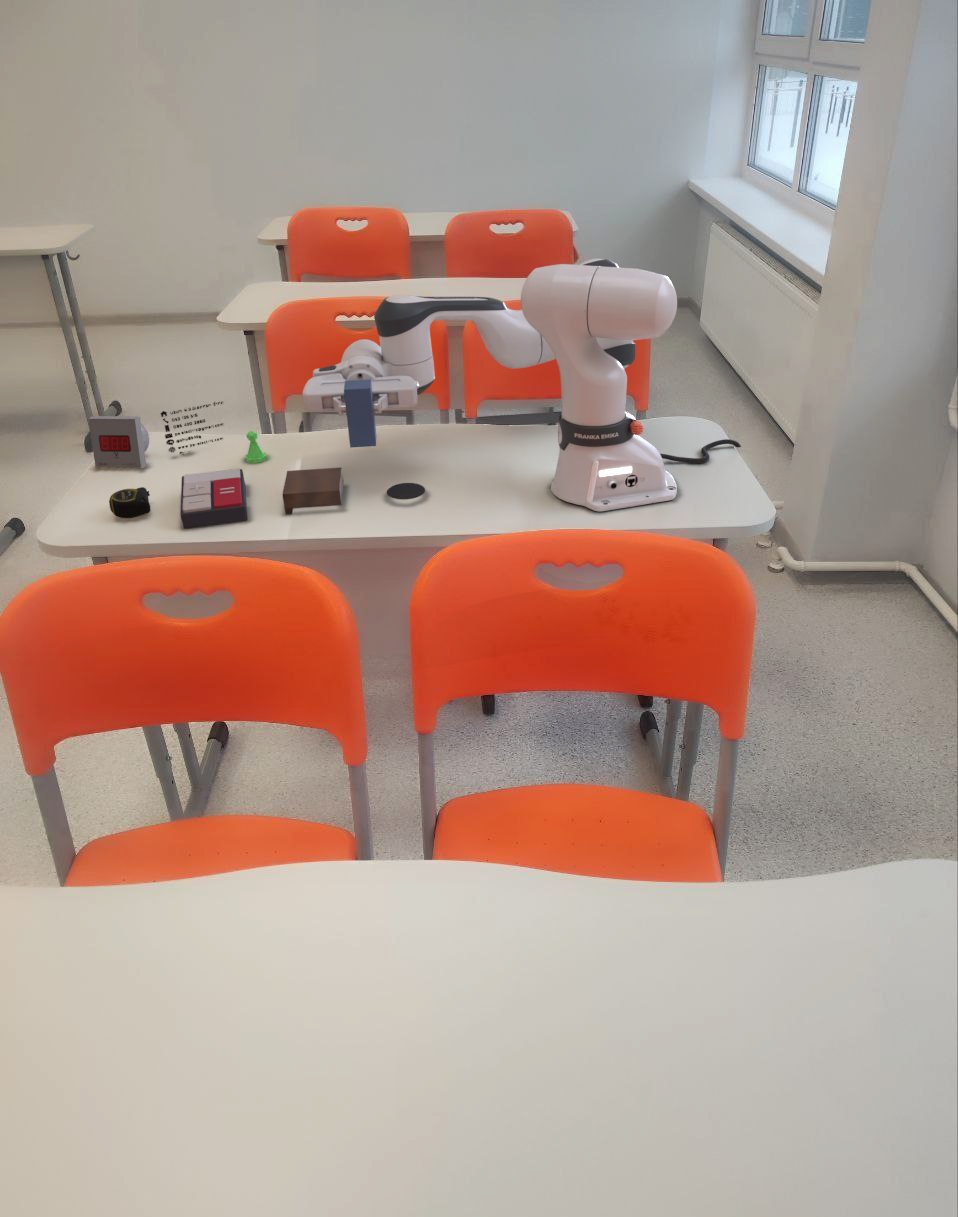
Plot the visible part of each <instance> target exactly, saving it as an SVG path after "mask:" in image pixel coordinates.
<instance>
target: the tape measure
mask: <svg viewBox="0 0 958 1217" xmlns="http://www.w3.org/2000/svg"><path fill="white" fill-rule="evenodd" d="M150 495H151V494H150V490H147V488H146V487H144V486H141V487H137V488H124V489H120V490H117V491H115V492H113V493H112V494H111V495H110V497H109V500H108V503H109V509H110V511H111V513H112V514H113V515H114V516H115V517H117V518H120V519H133V518H134V519H135V518H137V517H140V516H145V515H148V514H149V513H150V512H151V505H150V500H149V497H150Z"/></svg>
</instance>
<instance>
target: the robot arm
mask: <svg viewBox="0 0 958 1217" xmlns="http://www.w3.org/2000/svg"><path fill="white" fill-rule="evenodd" d="M520 307H521V309H520V310H519V309H511V308H509V307H507V305H506V303H505V302H504V301H502V300H500V299H497V298H494V297H489V296H488V297H486V296H419V295H410V294H395V295H391V296H387V297H385V298H384V299H383V300H382V301H381V303H380V304H379V306H378V307H377V309H376V310H375V312H374V315H373V317H374V322H375V327H376V331H377V334H378V337H379V344H378V343H377V342H376V341H373V340H370V339H367V338H366V339H365V338H364V339H362V338H361V339H358V340H356V341H354V342H352V343H350V345H348V347H346V348H345V350H344V352H343V354H342V356H341V360H340V362H339V363H337V364H333V365H328V366H324V367H320V368H319V367H318V368H315V369H313V370H312V377H311V378H309V379H308V380H307V381H306V383H305V384H304V387H303V390H302V403H303V408H304V411H305V412H307V413H311V414H312V413H326V412H327V413H329V412H337V413H338V416H347V414H346V405H345V396H344V385H345V381H352V380H370V379H371V384H372V394H373V413H374V414H382V413H383V412H382V411H384V410H386V409H395V408H396V409H397V408H398V409H399V408H412V407H414V406H417V405H418V404H419V403H418V402H419V401H418V400H419V399H418V398H419V397H418V396H419V395H422V394H423V393H424V392H425V391H427V390H428V388H429V387H431V386H432V384H433V383H434V381H435V380H436V373H435V372H436V371H435V363H434V354H433V348H432V338H431V326H432V324H433V323H434V322H439V321H441V322H442V321H444V322H445V321H470V322H471V323H472V324H473V325H474V327H475V328H476V330H477V332H478V334H479V337H480V338H481V340H482V343H483V345H484V346H485V349H486V350H487V352H488V353H489V355H490V356H491V358H492V359H494V361H496V362H497V363H498V364H499V365H501V366H502V367H505V368H508V369H513V370H515V369H524V368H529V367H534V366H538V365H541V364H544V363H548V362H551V361H554V360H556V363H557V367H558V370H559V378H560V389H561V390H560V392H561V412H560V413H559V414H558V423H557V444H558V446H559V449H558V456H557V462H556V468H555V472H554V476H553V480H552V483H551V486H550V490H551V492H552V493H553V495H554V496H555V497H556V498H558V499H560V500H562V501H564V502H567V503H570V504H574V505H578V506H581V507H585V508H587V509H590V510H591V511H594V512H600V513H601V512H607V511H608V512H609V511H613V510H619V509H624V508H633V507H638V506H644V505H650V504H656V503H657V504H658V503H662V502H667V501H672V500H674V499H676V497H677V495H678V485H677V482H676V481H675V480H676V479H674V477H673V475H672V474H671V473H670V472H668V471H667V470H666V468H665V462H664V460H668V461H673V462H678V463H687V464H688V463H689V464H690V463H691V464H701V463H706V462H708V461H709V460H710V454H709V452H708V450H710V449H712V448H715V447H718V446H722V445H732V446H734V447H735V448H741V447H742V445H741V444H740V443H739V442H738V441H736V440H734V439H728V438H725V439H719V440H715V441H712V442H710V443H707V444H705V445H704V446H703V447H701V450H700V451H701V454H702V456H703V457H684V456H675V455H672V454H668V453H667V454H666V453H660V452H659V450H658V449H657V448H656V447H655V446H654V445H653V444H652V443H650V442H649V441H647V440H646V439H644V438H643V437H642V436H640V435H642V433H644V426H643V424H642V423H641V421H639V420H637V418H636V417H635V416H634V415H633V414H631V412H629V410H626V409H627V408H626V406H627V390H628V376H627V375H628V374H627V372H626V368H628V367H629V366H631V365H633V363H634V361H635V360H636V355H637V354H636V351H637V349H636V347H637V345H636V342H634V341H639V340H647V339H648V340H649V339H657V338H660V337H661V336H663V335H664V334H665V333H666V332H667V331H668V330H669V328H670V327H671V325H672V324H673V322H674V320H675V317H676V315H677V310H678V297H677V292H676V288H675V286H674V284H673V282H672V281H671V279H670V278H669V277H668V276H666V275H663V274H660V273H657V272H653V271H650V270H644V269H640V268H634V267H619V265H618V264H617V263H616V262H614V261H613V260H611V259H609V258H606V259H604V258H590V259H587V260H585V261H583V262H581V263H580V264H570V263H559V264H550V265H545V266H541V267H536V268H534V269H533V270H532V271H531V272H530V273H529V275H527V278H526V279H525V280H524V283H523V285H522V287H521V292H520Z"/></svg>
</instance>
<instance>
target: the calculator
mask: <svg viewBox="0 0 958 1217" xmlns="http://www.w3.org/2000/svg"><path fill="white" fill-rule="evenodd" d="M246 488H247V487H246V481H245V475H244V471H243V469H242V468H239V467H238V468H237V467H236V468H230V469H221V470H212V471H206V472H205V471H204V472H196V473H189V474H188V473H187V474H184V475H182V476H181V488H180V513H179V514H180V515H179V516H180V520H181V523H182V527H183V529H185V530H188V529H195V528H196V529H197V528H203V527H212V526H219V525H226V524H234V523H242V522H247V521H248V518H249V517H248V504H247V489H246Z"/></svg>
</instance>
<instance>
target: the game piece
mask: <svg viewBox="0 0 958 1217" xmlns="http://www.w3.org/2000/svg"><path fill="white" fill-rule="evenodd" d="M245 436H246V438H247V441H249V446H248V450H247V454H245V462H246V463H249V464H258V463H259V464H260V463H262V462H264V461H267V453H266V452H264V451H263V450H262V448H261V446H260V445H259V443H258V442H257V439H258V438H259V435H258V433H257V432H256V431H254V430H249V431H248V432H247V433H246V435H245Z"/></svg>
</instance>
